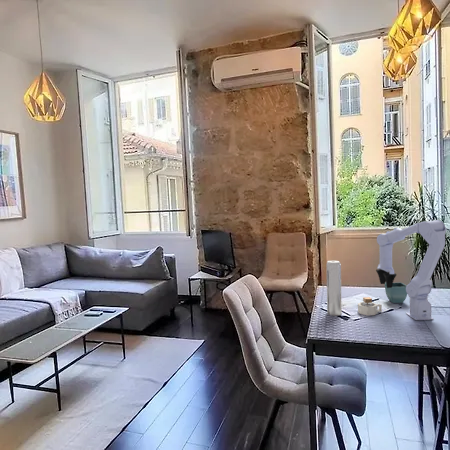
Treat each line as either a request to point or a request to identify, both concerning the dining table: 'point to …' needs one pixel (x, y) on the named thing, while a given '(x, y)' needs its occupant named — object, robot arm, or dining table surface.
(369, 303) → the plunger
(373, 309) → the press carafe
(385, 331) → the dining table surface
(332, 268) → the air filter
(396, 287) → the flower pot
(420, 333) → the dining table surface
